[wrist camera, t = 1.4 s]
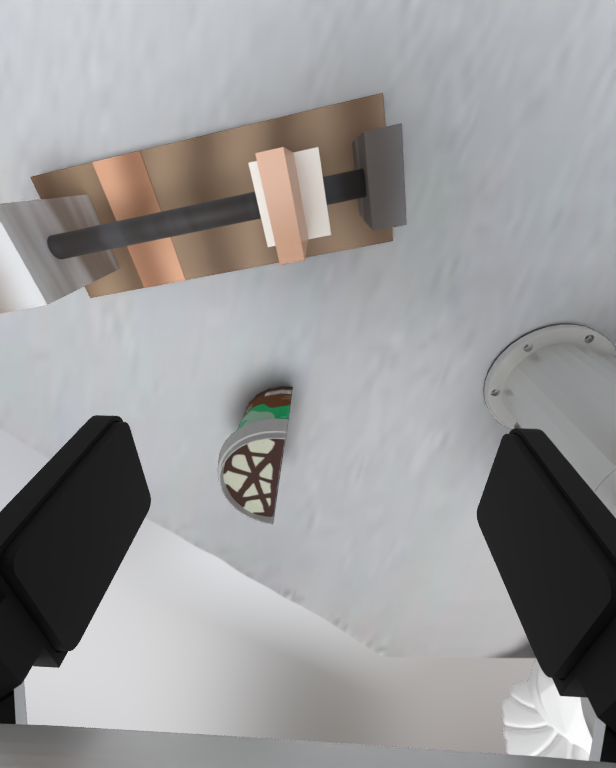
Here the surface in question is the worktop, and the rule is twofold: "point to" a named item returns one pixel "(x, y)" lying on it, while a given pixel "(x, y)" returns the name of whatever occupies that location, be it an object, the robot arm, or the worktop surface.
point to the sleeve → (290, 200)
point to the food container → (256, 456)
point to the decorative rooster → (544, 720)
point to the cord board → (233, 179)
